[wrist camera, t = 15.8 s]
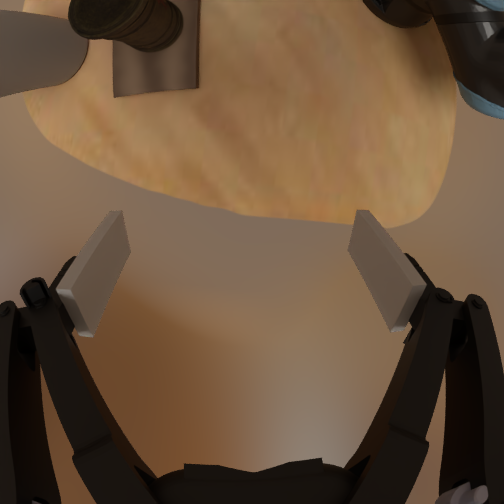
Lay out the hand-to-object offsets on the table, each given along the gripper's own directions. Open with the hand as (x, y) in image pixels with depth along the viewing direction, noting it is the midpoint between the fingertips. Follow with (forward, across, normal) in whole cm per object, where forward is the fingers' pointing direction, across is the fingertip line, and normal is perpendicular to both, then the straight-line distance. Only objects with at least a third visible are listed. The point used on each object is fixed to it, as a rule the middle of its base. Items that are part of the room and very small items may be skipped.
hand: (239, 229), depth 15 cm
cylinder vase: (+33, -31, +18) cm, 49 cm away
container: (+30, -12, +18) cm, 37 cm away
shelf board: (+33, -12, +18) cm, 39 cm away
